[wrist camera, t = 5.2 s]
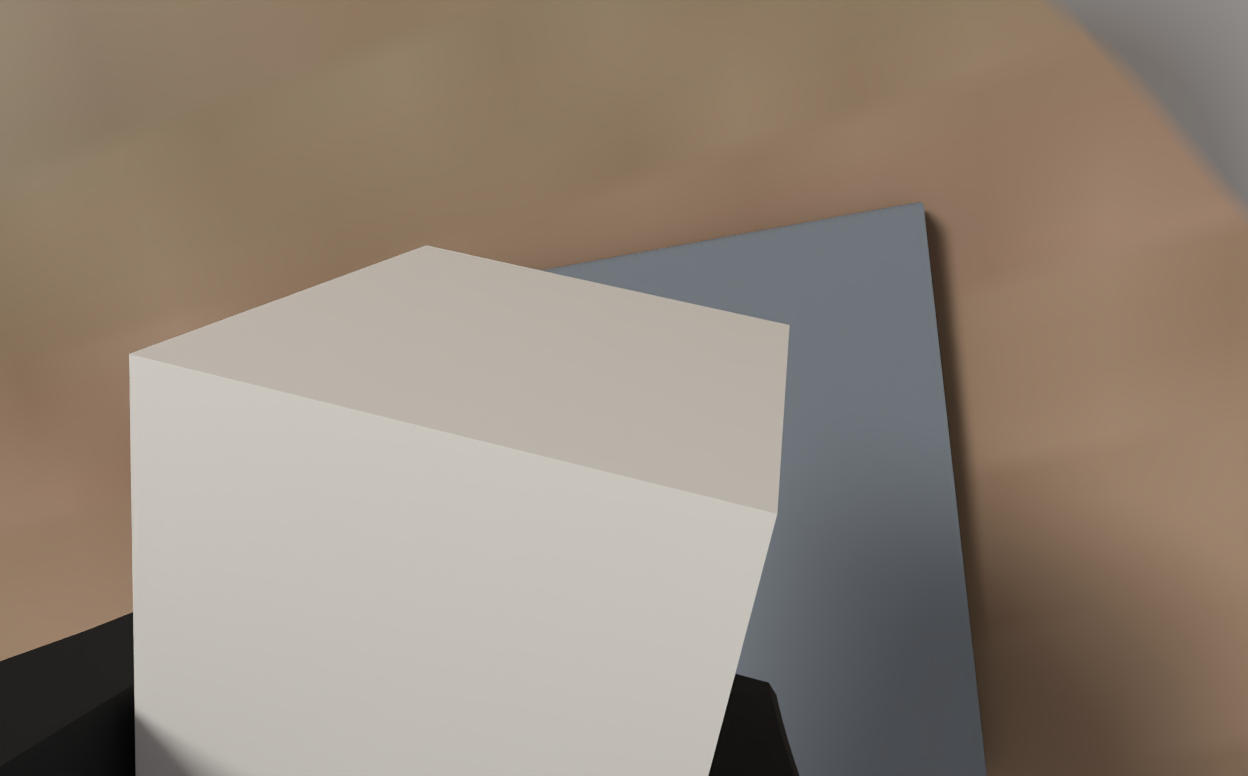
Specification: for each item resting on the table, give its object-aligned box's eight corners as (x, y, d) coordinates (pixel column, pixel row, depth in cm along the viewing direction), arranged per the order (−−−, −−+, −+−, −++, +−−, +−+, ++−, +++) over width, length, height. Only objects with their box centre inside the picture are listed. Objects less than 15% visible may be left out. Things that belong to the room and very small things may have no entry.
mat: (984, 770, 18) (987, 784, 18) (579, 782, 21) (574, 795, 20) (920, 201, 15) (923, 204, 15) (450, 286, 17) (442, 290, 17)
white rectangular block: (789, 325, 9) (776, 512, 5) (640, 922, 12) (551, 1368, 8) (425, 244, 10) (128, 353, 5) (366, 836, 12) (142, 1210, 8)
